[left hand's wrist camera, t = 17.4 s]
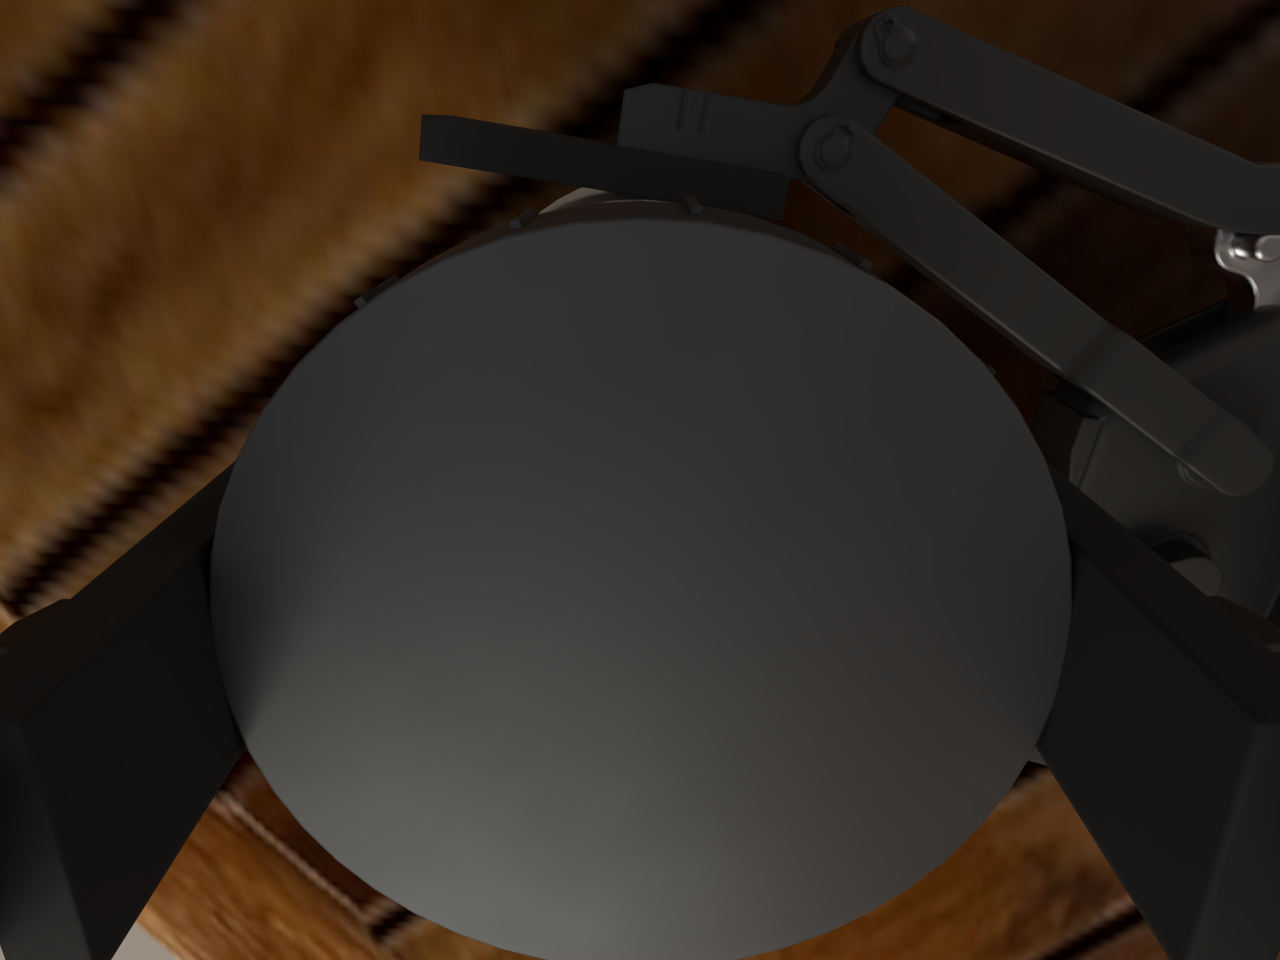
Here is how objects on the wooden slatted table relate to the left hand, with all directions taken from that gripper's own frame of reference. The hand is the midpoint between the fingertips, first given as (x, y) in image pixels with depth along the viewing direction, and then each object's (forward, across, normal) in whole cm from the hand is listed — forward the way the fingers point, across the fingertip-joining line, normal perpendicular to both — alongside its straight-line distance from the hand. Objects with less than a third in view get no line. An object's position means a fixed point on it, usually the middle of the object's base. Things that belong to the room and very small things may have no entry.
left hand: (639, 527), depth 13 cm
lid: (-3, 0, 0) cm, 3 cm away
